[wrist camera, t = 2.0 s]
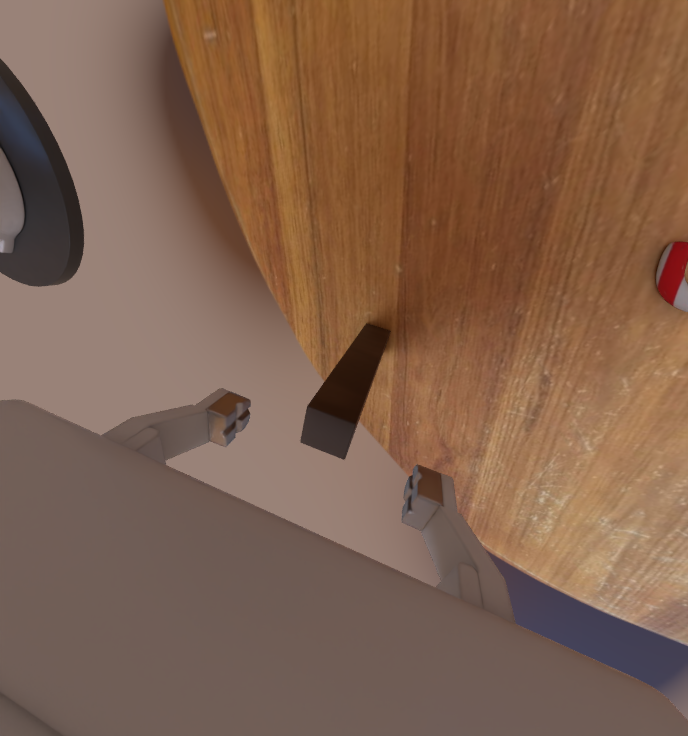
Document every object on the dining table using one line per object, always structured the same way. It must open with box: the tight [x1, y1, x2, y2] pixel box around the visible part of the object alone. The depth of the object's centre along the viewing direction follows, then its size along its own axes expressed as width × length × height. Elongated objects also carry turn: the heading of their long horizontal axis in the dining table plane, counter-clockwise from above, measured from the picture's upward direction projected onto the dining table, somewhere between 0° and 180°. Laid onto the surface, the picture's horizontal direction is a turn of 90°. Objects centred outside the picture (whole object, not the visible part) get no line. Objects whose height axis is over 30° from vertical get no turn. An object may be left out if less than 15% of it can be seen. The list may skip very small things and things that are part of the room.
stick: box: [301, 323, 391, 459], centre depth 18 cm, size 2×2×14 cm
